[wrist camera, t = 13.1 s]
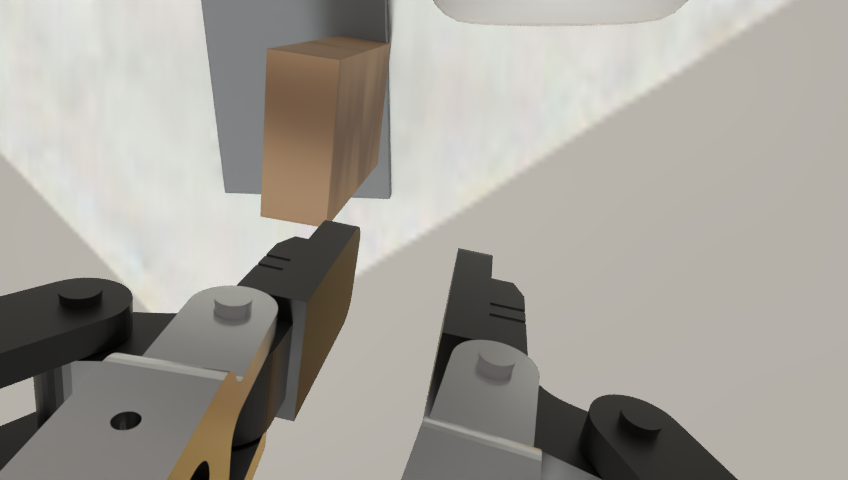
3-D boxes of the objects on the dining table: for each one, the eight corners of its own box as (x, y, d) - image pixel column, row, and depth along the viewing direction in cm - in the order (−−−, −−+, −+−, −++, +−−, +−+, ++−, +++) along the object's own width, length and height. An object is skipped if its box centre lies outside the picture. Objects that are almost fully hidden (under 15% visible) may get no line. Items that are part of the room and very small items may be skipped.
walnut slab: (377, 165, 31) (326, 227, 22) (329, 156, 31) (260, 216, 22) (390, 43, 29) (339, 60, 20) (339, 35, 29) (266, 48, 20)
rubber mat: (229, 189, 33) (225, 192, 33) (206, -7, 30) (200, -7, 29) (391, 195, 32) (389, 198, 32) (386, -8, 29) (384, -8, 28)
